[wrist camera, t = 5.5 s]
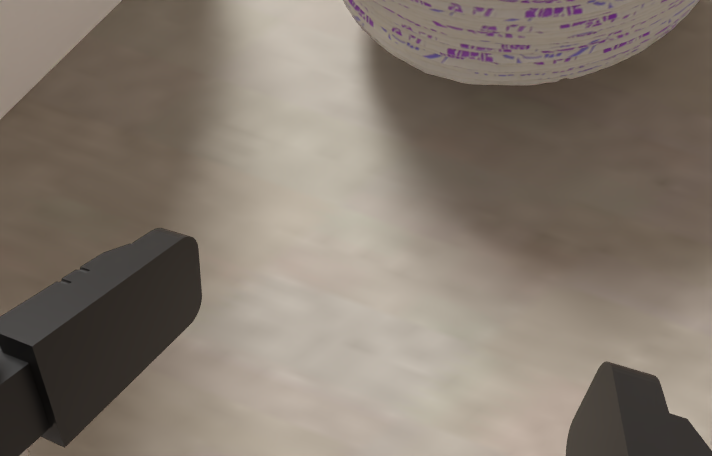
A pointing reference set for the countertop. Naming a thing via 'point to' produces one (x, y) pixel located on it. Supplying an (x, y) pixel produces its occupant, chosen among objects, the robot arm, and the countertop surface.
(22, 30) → the white house shaped block
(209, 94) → the countertop surface
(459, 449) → the countertop surface
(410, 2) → the paper bowls
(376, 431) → the countertop surface
